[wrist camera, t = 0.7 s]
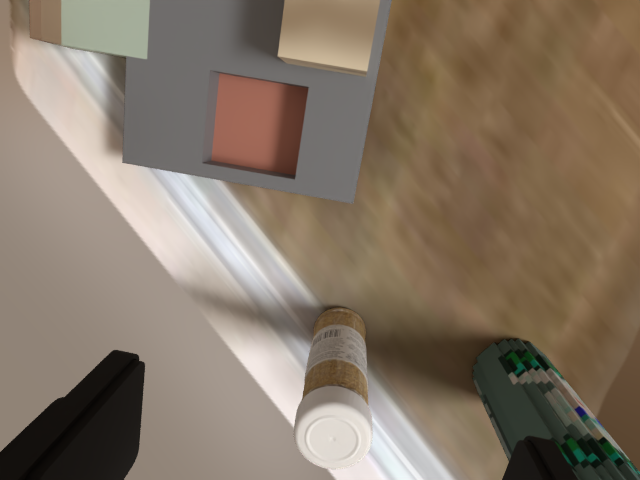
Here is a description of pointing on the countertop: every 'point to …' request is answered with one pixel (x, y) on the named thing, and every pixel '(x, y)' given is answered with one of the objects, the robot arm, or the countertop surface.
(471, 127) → the countertop surface
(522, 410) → the can
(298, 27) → the birch block
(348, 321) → the sprinkles bottle
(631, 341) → the countertop surface
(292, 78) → the board
